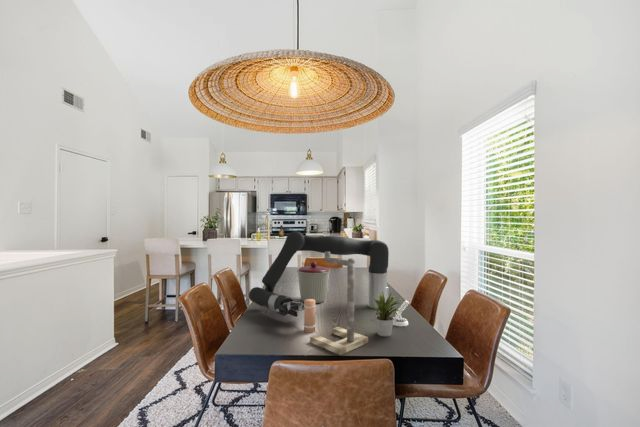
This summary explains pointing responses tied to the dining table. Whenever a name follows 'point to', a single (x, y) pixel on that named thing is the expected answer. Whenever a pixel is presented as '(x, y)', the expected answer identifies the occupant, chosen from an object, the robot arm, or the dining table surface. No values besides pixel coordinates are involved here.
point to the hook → (399, 316)
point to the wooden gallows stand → (350, 337)
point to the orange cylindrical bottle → (309, 315)
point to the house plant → (384, 314)
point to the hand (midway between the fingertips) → (304, 311)
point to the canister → (313, 282)
